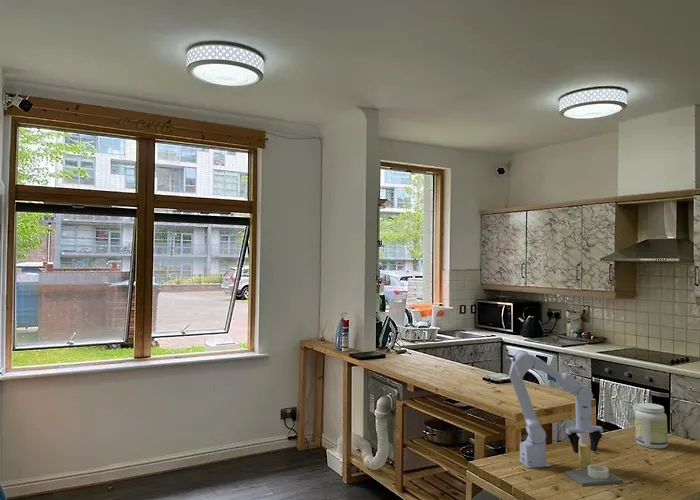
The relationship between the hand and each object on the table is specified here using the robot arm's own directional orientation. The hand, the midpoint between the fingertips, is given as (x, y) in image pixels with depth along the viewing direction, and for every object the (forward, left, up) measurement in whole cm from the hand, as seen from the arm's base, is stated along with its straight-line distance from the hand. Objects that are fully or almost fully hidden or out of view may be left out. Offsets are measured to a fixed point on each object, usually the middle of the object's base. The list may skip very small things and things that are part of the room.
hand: (584, 451), depth 202 cm
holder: (-4, -11, -6) cm, 13 cm away
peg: (0, 0, -6) cm, 6 cm away
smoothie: (+13, +20, -6) cm, 25 cm away
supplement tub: (+44, +18, -6) cm, 48 cm away
